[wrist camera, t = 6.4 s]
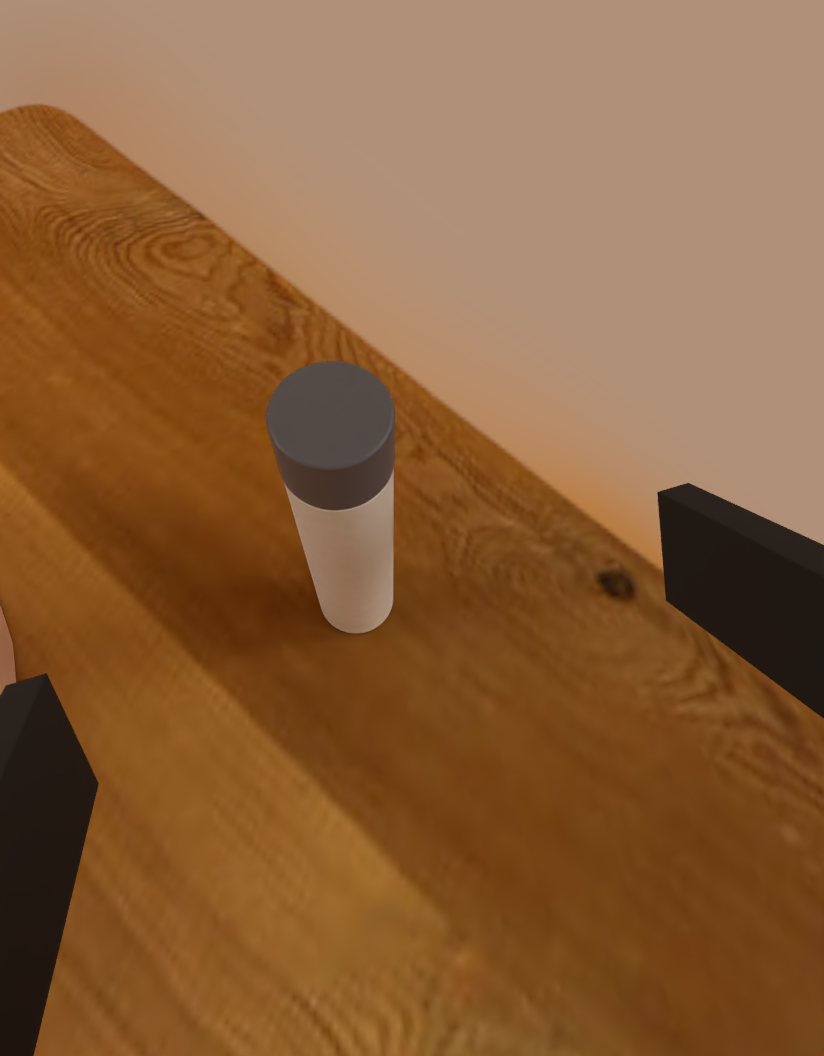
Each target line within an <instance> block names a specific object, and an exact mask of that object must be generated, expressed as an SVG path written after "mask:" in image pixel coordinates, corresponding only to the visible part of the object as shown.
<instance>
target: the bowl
mask: <svg viewBox="0 0 824 1056" xmlns="http://www.w3.org/2000/svg"><path fill="white" fill-rule="evenodd" d="M12 683H16V672H15V660H14V649H13V643H12V640H11V637H10V633H9V630H8V627H7V624H6V621H5V618H4V615H3V612H2V609H1V606H0V695H1V693H2V692H3V690H4V688H5V686H6V685H9V684H12Z"/></svg>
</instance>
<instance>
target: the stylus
mask: <svg viewBox="0 0 824 1056" xmlns="http://www.w3.org/2000/svg"><path fill="white" fill-rule="evenodd" d="M266 424H267V429H268V433H269V436H270V440H271V443H272V446H273V450H274V453H275V457H276V460H277V463H278V467H279V470H280V473H281V476H282V479H283V481H284V484H285V487H286V491H287V494H288V497H289V501H290V504H291V508H292V511H293V514H294V518H295V521H296V525H297V528H298V532H299V535H300V538H301V542H302V545H303V549H304V552H305V555H306V559H307V562H308V566H309V569H310V572H311V576H312V579H313V583H314V586H315V589H316V593H317V596H318V600H319V603H320V606H321V610H322V612H323V614H324V616H325V618H326V619H327V621H328V622H329V623H330V624H331V625H333V626H334V627H335V628H337V629H339V630H341V631H344V632H347V633H364V632H368V631H371V630H373V629H375V628H376V627H378V626H379V625H380V624H382V623H383V622H384V621H385V619H386V618H387V617H388V615H389V613H390V611H391V608H392V605H393V534H394V461H395V410H394V404H393V400H392V398H391V396H390V393H389V392H388V390H387V388H386V387H385V386H384V384H383V383H382V382H381V381H380V380H379V379H378V378H377V377H376V376H375V375H373V374H372V373H371V372H369V371H368V370H366V369H364V368H362V367H359V366H357V365H354V364H350V363H346V362H339V361H326V362H318V363H314V364H310V365H307V366H305V367H302V368H300V369H298V370H296V371H295V372H293V373H291V374H290V375H289V376H287V377H286V378H285V379H284V380H283V381H282V382H281V383H280V384H279V385H278V387H277V388H276V389H275V391H274V393H273V394H272V396H271V399H270V401H269V404H268V408H267V414H266Z"/></svg>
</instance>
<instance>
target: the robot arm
mask: <svg viewBox="0 0 824 1056" xmlns="http://www.w3.org/2000/svg"><path fill="white" fill-rule="evenodd" d="M658 505H659V518H660V530H661V543H662V554H663V568H664V580H665V593H666V601H667V602H669V603H670V604H671V605H673V606H674V607H675V608H677V609H678V610H679V611H681V612H682V613H683V614H685V615H686V616H687V617H689V618H690V619H691V620H693V621H694V622H695V623H697V624H698V625H699V626H701V627H702V628H703V629H705V630H706V631H707V632H709V633H710V634H712V635H713V636H714V637H716V638H717V639H718V640H720V641H721V642H722V643H724V644H725V645H726V646H728V647H729V648H730V649H732V650H733V651H734V652H736V653H737V654H738V655H740V656H741V657H742V658H744V659H745V660H746V661H748V662H749V663H750V664H752V665H753V666H754V667H756V668H757V669H758V670H760V671H761V672H762V673H764V674H765V675H766V676H768V677H769V678H770V679H772V680H773V681H774V682H776V683H777V684H778V685H780V686H781V687H782V688H784V689H785V690H786V691H788V692H789V693H790V694H792V695H793V696H794V697H796V698H797V699H798V700H800V701H801V702H802V703H804V704H805V705H806V706H808V707H809V708H810V709H812V710H813V711H814V712H816V713H817V714H818V715H820V716H821V717H823V718H824V545H822V544H820V543H818V542H816V541H814V540H811V539H809V538H807V537H805V536H803V535H801V534H798V533H796V532H794V531H792V530H790V529H787V528H785V527H783V526H781V525H779V524H777V523H774V522H772V521H770V520H768V519H766V518H763V517H761V516H759V515H757V514H755V513H752V512H750V511H748V510H746V509H744V508H742V507H740V506H737V505H735V504H733V503H731V502H729V501H727V500H724V499H722V498H720V497H718V496H716V495H714V494H711V493H709V492H707V491H705V490H703V489H700V488H698V487H696V486H694V485H692V484H689V483H687V484H683V485H680V486H677V487H673V488H670V489H667V490H663V491H660V492H658ZM98 784H99V783H98V781H97V779H96V777H95V775H94V773H93V771H92V769H91V766H90V764H89V762H88V760H87V758H86V756H85V754H84V752H83V749H82V747H81V745H80V743H79V741H78V739H77V737H76V735H75V732H74V730H73V728H72V726H71V724H70V722H69V720H68V718H67V716H66V713H65V711H64V709H63V707H62V705H61V703H60V701H59V699H58V696H57V694H56V692H55V690H54V688H53V686H52V684H51V682H50V679H49V677H48V675H47V673H46V674H43V675H39V676H36V677H33V678H29V679H26V680H23V681H19V682H16V683H12V684H9V685H6V686H5V688H4V690H3V692H2V693H1V695H0V1056H33V1055H34V1051H35V1047H36V1043H37V1039H38V1035H39V1030H40V1026H41V1022H42V1018H43V1014H44V1009H45V1005H46V1001H47V997H48V993H49V989H50V984H51V980H52V976H53V972H54V968H55V963H56V959H57V955H58V951H59V947H60V943H61V938H62V934H63V930H64V926H65V922H66V918H67V913H68V909H69V905H70V901H71V897H72V892H73V888H74V884H75V880H76V876H77V872H78V867H79V863H80V859H81V855H82V851H83V846H84V842H85V838H86V834H87V830H88V826H89V821H90V817H91V813H92V809H93V805H94V801H95V796H96V792H97V788H98Z"/></svg>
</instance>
